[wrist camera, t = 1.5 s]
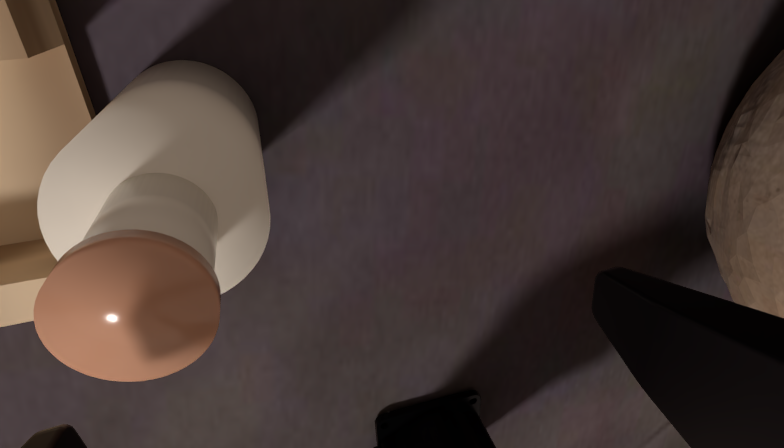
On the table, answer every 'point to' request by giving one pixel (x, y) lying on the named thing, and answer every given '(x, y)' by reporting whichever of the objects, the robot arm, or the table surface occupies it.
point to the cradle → (32, 140)
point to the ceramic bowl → (751, 196)
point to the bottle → (151, 224)
